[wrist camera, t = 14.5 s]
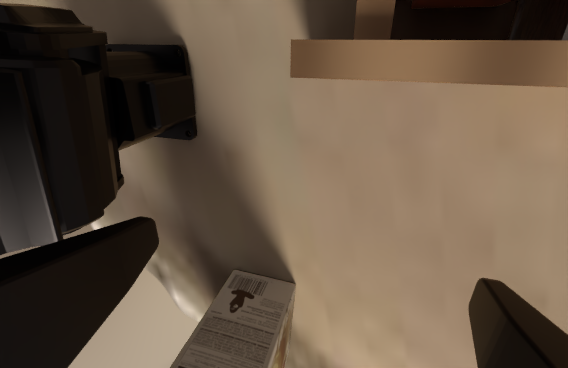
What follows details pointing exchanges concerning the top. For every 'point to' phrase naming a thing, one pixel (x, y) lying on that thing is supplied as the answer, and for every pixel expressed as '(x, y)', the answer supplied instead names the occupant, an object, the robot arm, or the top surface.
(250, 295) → the coffee box
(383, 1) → the wooden display stand
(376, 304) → the top surface
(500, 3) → the block
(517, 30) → the bookend
